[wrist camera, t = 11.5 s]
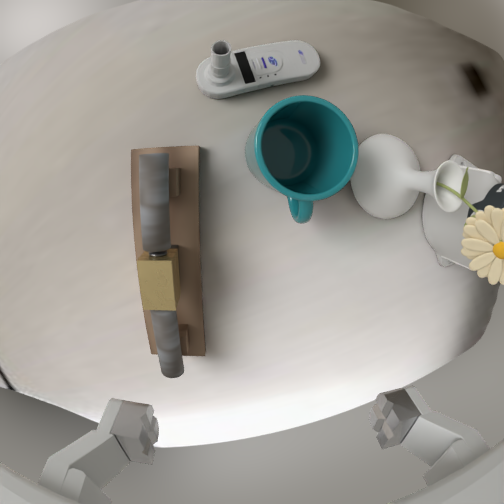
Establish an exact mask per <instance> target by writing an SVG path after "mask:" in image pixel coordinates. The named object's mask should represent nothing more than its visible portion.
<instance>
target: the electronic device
mask: <svg viewBox="0 0 504 504" xmlns="http://www.w3.org/2000/svg"><path fill="white" fill-rule="evenodd" d="M319 67H320V57H319V55H318V53H317V51H316V50H315V48H314V47H313V46H311V45H310V44H308V43H306V42H303V41H299V40H291V41H284V42H277V43H270V44H264V45H259V46H253V47H248V48H244V49H239V50H235V51H232V52H231V44H230V43H228V42H227V41H224V40H219V41H216V42H214V43H213V45H212V47H211V57H209V58H207V59H205V60H204V61H203V62H202V63H201V64H200V65H199V67H198V68H197V70H196V81H197V84H198V87H199V89H200V90H201V92H202V93H203V94H204V95H206V96H208V97H210V98H215V99H221V98H227V97H230V96H234V95H238V94H242V93H245V92H249V91H254V90H258V89H262V88H266V87H271V86H276V85H281V84H285V83H291V82H296V81H302V80H306V79H308V78H310V77H311V76H312V75H313V74H315V73H316V72H317V71H318V69H319Z"/></svg>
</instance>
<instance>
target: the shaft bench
mask: <svg viewBox="0 0 504 504" xmlns="http://www.w3.org/2000/svg"><path fill="white" fill-rule="evenodd" d="M199 155H200V147H199V146H177V147H158V148H144V149H132V150H131V189H132V213H133V228H134V241H135V251H136V261H137V260H138V258H139V257H140V256H141V255H142V254H143V253H144V251H148V252H160V251H165V250H168V249H178V261H179V276H180V289H181V295H180V299H179V302H178V305H177V309H176V311H170V310H143V312H144V318H145V323H146V329H147V334H148V339H149V344H150V349H151V354H158V357H159V362H160V366H161V371H162V374H163V375H164V376H166V377H168V378H176V377H179V376H181V375H182V374H183V373H184V365H183V359H182V355H183V356H205V352H206V348H205V335H204V321H203V304H202V285H201V262H200V225H199ZM137 270H138V268H137ZM138 278H139V277H138ZM139 285H140V284H139ZM140 293H141V292H140ZM141 299H142V298H141ZM142 306H143V305H142Z"/></svg>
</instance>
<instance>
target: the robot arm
mask: <svg viewBox="0 0 504 504" xmlns="http://www.w3.org/2000/svg"><path fill="white" fill-rule="evenodd" d="M449 161H454V162H456V163H457V164H458V165H459V166H460V167H461V169H462V171H463V173H464V174H465V172H466V168H467V167H469V168H468V170H467V171H468V176H469V181H468V186H467V190H466V193H465V197H464V198H465V199H466V200H467V201H468V202H469V203H470V204H471V205H472V206H474V207H475V208H476V209H477V210H478V211H483V212H484V208H485V207H486V206H488V205H491V206H493V207H494V208H500V209H502V208H504V184H502V183H501V180H502V178H501V176H499V175H497V174H494V172H492V171H487V170H483V169H478V168H477V167H476V166H474V165H473V164H472V163H470V162H469V161H467V160H466V159H464V158H463V157H461V156H460V155H456V154H454V155H452V157H451V158H450V160H449ZM475 214H476V213H475V212H474V211H473V210H472V209H471V208H470V207H469V206H468V205H467V204H466V203H465V202H462V204H461V206H460V207H459V208H458V209H457V210H456V211H454V212H451V213H448V212H445V211H443V210H442V209H441V208H440V207H439V205H438V204H437V202H436V199H435V198H434V197H432V196H431V195H429V194H427V193H426V195H425V199H424V204H423V214H422V218H423V228H424V232H425V236H426V238H427V240H428V242H429V244H430V245H431V247H432V248H433V249H434V250H435V252H436V255H437V259H438V262H439V264H440V265H441V266H443V267H447V266H450V265H453V264H458V265H461V266H463V267H465V268H467V269H470V268H469V263H470V262H471V261H472V260H471V259H468V258H467V257H466V256H464V255H462V254H461V249H462V248H463V247H462V245H461V241H462V240H463V239H465V238H464V237H463V235H462V233H463V227H464V224H465V222H466V219H467V218H468V217H471V216H472V215H475ZM470 270H471V269H470ZM376 402H377V404H375V405H374V406H373V407H372V409H371V411H370V417H369V418H370V419H369V420H370V424H371V426H372V428H373V429H374V430H375V431H377V432H378V434H377V439H378V441H379V444H380V446H381V448H382V449H385V448H388V447H392V446H395V445H398V444H400V445H401V446H402V447H404V448H405V449H407V450H408V451H409V452H411V453H412V454H414V455H415V456H417V457H418V458H419V459H421V460H422V461H424V462H425V463H427V464H428V465H430V466H431V468H430V469H429V470H428V471H427V472H426V473H425V474H424V477H423V478H424V480H425V481H426V484H427V486H428V487H425V488H423V489H421V490H419V491H417V492H415V493H412V494H410V495H408V496H405V497H403V498H400V499H398V500H395V501H393V502H390V503H388V504H504V439H503V440H502V441H501V442H499V443H498V444H497V445H495V446H494V447H493V448H491V449H490V448H489V446H488V445H487V443H486V442H485V441H484V439H483V438H482V436H481V435H480V433H479V432H478V431H477V430H476V429H475V428H473V427H470V426H468V425H466V424H464V423H461V422H459V421H457V420H455V419H452V418H450V417H448V416H446V415H444V414H442V413H439V412H437V411H436V410H434V411H432V410H431V409H430V407H429V406H428V404H427V403H426V401H425V400H424V399H423V397H422V396H421V394H420V393H419V392H418V390H417V389H416V387H415V386H413V385H411V386H407V387H403V388H399V389H395V390H391V391H387V392H383V393H380V394H379V395H377V398H376ZM153 413H154V410H153V407H152V405H149V404H142V403H136V402H130V401H125V400H119V399H114V398H111V399H110V400H109V402H108V404H107V406H106V409H105V411H104V413H103V416H102V418H101V420H100V423H99V425H98V428H97V430H92V431H90V432H89V433H87V434H86V435H84V436H83V437H81V438H79V439H78V440H76V441H75V442H73V443H71V444H70V445H69V446H67V447H65V448H64V449H62V450H60V451H58V452H57V453H55V454H54V455H52V456H50V457H49V458H48V460H47V463H46V465H45V467H44V470H43V472H42V474H41V477H40V479H39V482H38V484H37V483H35V482H33V481H31V480H29V479H27V478H25V477H24V476H22V475H20V474H18V473H16V472H15V471H13V470H12V469H10V468H9V467H7V466H5V465H4V464H2V463H1V462H0V504H112V501H111V499H110V498H109V497H108V496H107V495H106V494H105V493H103V491H102V490H101V489H102V488H103V487H105V486H106V485H107V484H108V483H109V482H110V481H111V480H112V479H113V478H114V477H115V476H116V475H118V474H119V473H120V472H121V471H122V470H123V469H124V468H125V467H126V466H127V465H128V464H129V463H130V461H132V462H138V463H145V464H151V465H152V464H153V459H154V455H155V449H154V447H153V444H154V443H156V442H157V440H158V435H159V426H158V421H157V418H155V417H154V416H153Z"/></svg>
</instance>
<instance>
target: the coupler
mask: <svg viewBox="0 0 504 504" xmlns="http://www.w3.org/2000/svg"><path fill="white" fill-rule="evenodd" d="M137 268H138V277H139V284H140V292H141V298H142V305H143V310H170V311H176V309H177V305H178V302H179V299H180V295H181V289H180V276H179V261H178V249H168V250H165V251H160V252H148V251H144V253H143V254H142V255H141V256H140V257H139V258H138V260H137Z"/></svg>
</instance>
